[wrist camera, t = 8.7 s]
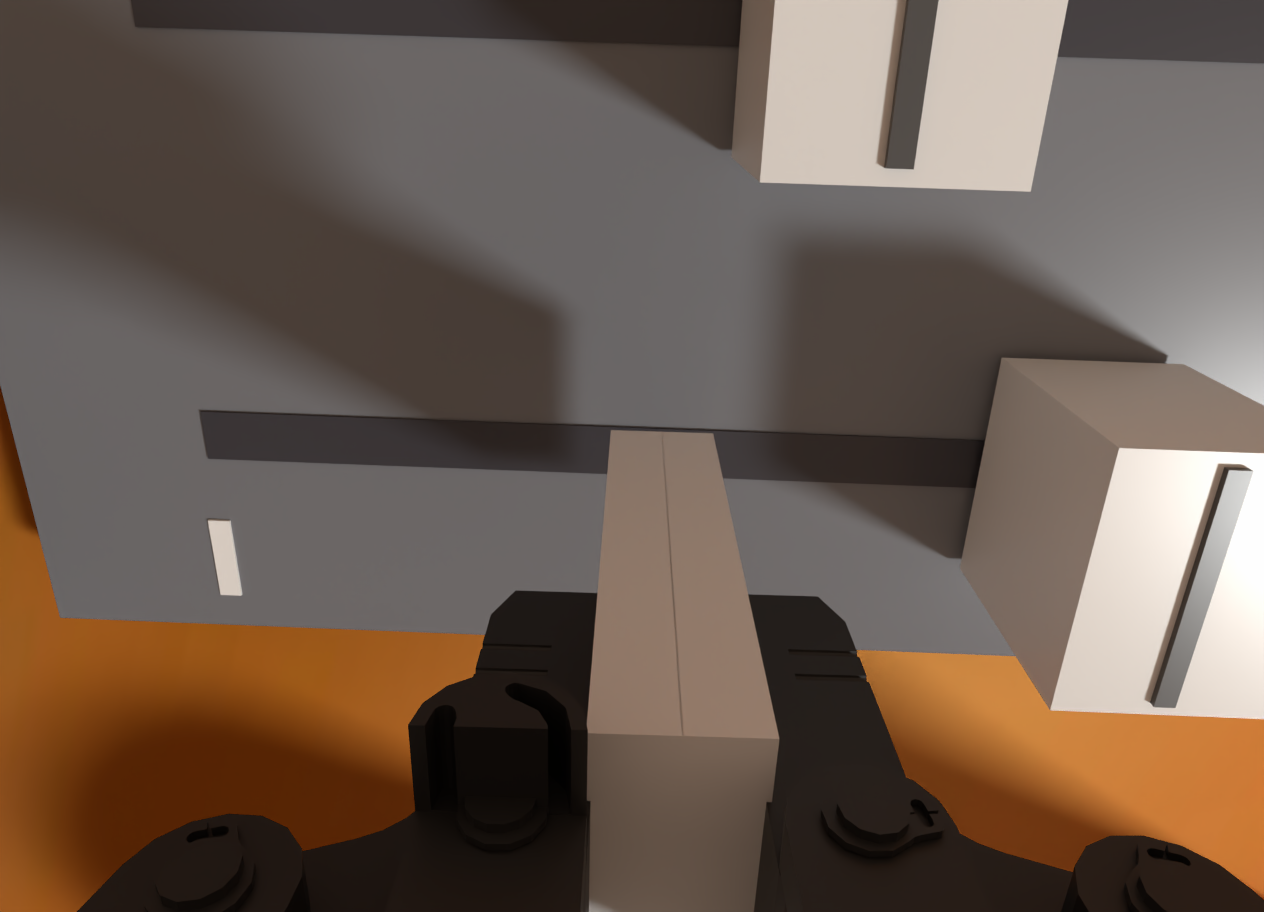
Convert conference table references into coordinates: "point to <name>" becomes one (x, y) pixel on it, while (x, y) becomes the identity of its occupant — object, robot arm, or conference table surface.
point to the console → (558, 299)
